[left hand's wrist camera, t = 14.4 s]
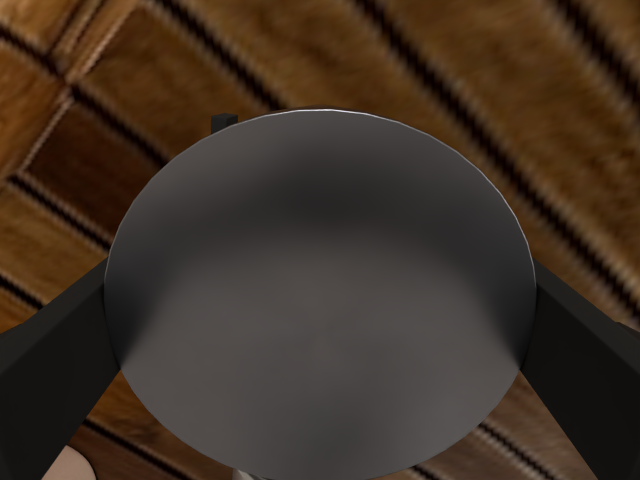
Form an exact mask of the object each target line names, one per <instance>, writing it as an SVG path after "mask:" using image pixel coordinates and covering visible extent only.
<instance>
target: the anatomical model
mask: <svg viewBox="0 0 640 480" xmlns="http://www.w3.org/2000/svg"><path fill="white" fill-rule="evenodd" d="M42 480H96V477H95V474H94V472H93V469H92V468H91V466H90V464H89V462H88V461H87V460H86V459H85V458H84V457H83V456H82V455H81V454H80V453H79V452H77V451H76V450H74V449H73V448H71V447H69V446H67V445H66V446H65V447H64V449H63V450H62V452H61V453H60V454H59V456H58V457H57V459H56V460H55V461H54V463H53V464H52V466H51V467H50V468H49V470H48V471H47V473H46V474H45V475H44V477H43V478H42Z"/></svg>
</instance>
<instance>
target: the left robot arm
mask: <svg viewBox="0 0 640 480" xmlns="http://www.w3.org/2000/svg"><path fill="white" fill-rule="evenodd" d="M108 258H109V256H108V257H107V258H106V259H105V260H103V261H102V262H101V263H99V264H98V265H97V266H96V267H94V268H93V269H92V270H90V271H89V272H88V273H87V274H85V275H84V276H83V277H82V278H80V279H79V280H78V281H76V282H75V283H74V284H73V285H71V286H70V287H69V288H68V289H66V290H65V291H64V292H62V293H61V294H60V295H59V296H57V297H56V298H55V299H53V300H52V301H51V302H50V303H48V304H47V305H46V306H45V307H43V308H42V309H41V310H39V311H38V312H37V313H36V314H34V315H33V316H32V317H31V318H29V319H28V320H27V321H25V322H24V323H23V324H19V325H17V326H15V327H13V328H11V329H9V330H7V331H5V332H3V333H1V334H0V480H42V478H43V477H44V475H45V474H46V473H47V471H48V470H49V468H50V467H51V466H52V464H53V463H54V461H55V460H56V459H57V457H58V456H59V454H60V453H61V452H62V450H63V449H64V447H65V446H66V445H67V443H68V442H69V440H70V439H71V438H72V436H73V435H74V433H75V432H76V431H77V429H78V428H79V427H80V425H81V424H82V422H83V421H84V420H85V418H86V417H87V415H88V414H89V413H90V411H91V410H92V408H93V407H94V406H95V404H96V403H97V401H98V400H99V399H100V397H101V396H102V394H103V393H104V392H105V390H106V389H107V387H108V386H109V385H110V383H111V382H112V380H113V379H114V378H115V376H116V375H117V373H118V372H119V371H120V367H119V364H118V362H117V359H116V357H115V355H114V352H113V350H112V346H111V343H110V338H109V334H108V330H107V326H106V320H105V310H104V283H105V272H106V268H107V263H108ZM532 261H533V264H534V270H535V280H536V289H537V300H536V317H535V321H534V326H533V331H532V335H531V340H530V344H529V347H528V350H527V353H526V356H525V359H524V361H523V364H522V366H521V368H520V371H521V372H522V374H523V375H524V377H525V378H526V379H527V381H528V382H529V383H530V385H531V386H532V388H533V389H534V390H535V392H536V393H537V395H538V396H539V397H540V399H541V400H542V402H543V403H544V404H545V406H546V407H547V409H548V410H549V411H550V413H551V414H552V416H553V417H554V418H555V420H556V421H557V423H558V424H559V425H560V427H561V428H562V430H563V431H564V432H565V434H566V435H567V437H568V438H569V439H570V441H571V442H572V444H573V445H574V446H575V448H576V449H577V451H578V452H579V453H580V455H581V456H582V458H583V459H584V460H585V462H586V463H587V465H588V466H589V467H590V469H591V470H592V472H593V473H594V474H595V476H596V477H597V479H598V480H640V332H638V331H636V330H634V329H632V328H630V327H628V326H626V325H624V324H622V323H620V322H614V321H613V320H612V319H611V318H609V317H608V316H607V315H605V314H604V313H603V312H602V311H600V310H599V309H598V308H596V307H595V306H594V305H593V304H591V303H590V302H589V301H588V300H586V299H585V298H584V297H582V296H581V295H580V294H579V293H577V292H576V291H575V290H574V289H572V288H571V287H570V286H568V285H567V284H566V283H565V282H563V281H562V280H561V279H559V278H558V277H557V276H556V275H554V274H553V273H552V272H551V271H549V270H548V269H547V268H545V267H544V266H543V265H542V264H540V263H539V262H538V261H537V260H535V259H534V258H533V257H532Z"/></svg>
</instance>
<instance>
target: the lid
mask: <svg viewBox="0 0 640 480" xmlns="http://www.w3.org/2000/svg"><path fill="white" fill-rule="evenodd" d="M536 300H537V289H536V280H535V270H534V264H533V261H532V257H531V253H530V249H529V246H528V242H527V239H526V237H525V235H524V233H523V230H522V228H521V226H520V224H519V221H518V219H517V217H516V215H515V214H514V212H513V211H512V209H511V207H510V206H509V204H508V203H507V201H506V200H505V198H504V197H503V195H502V194H501V192H500V191H499V190H498V189H497V188H496V187H495V185H494V184H493V183H492V182H491V181H490V180H489V179H488V178H487V177H486V175H485V174H484V173H483V172H482V171H481V170H480V169H479V168H478V167H476V166H475V165H474V164H473V163H471V162H470V161H469V160H468V159H467V158H465V157H464V156H463V155H462V154H460V153H459V152H458V151H457V150H455V149H453V148H452V147H450V146H448V145H447V144H445V143H443V142H442V141H440V140H438V139H437V138H435V137H433V136H432V135H430V134H428V133H426V132H423V131H421V130H418V129H416V128H414V127H411V126H409V125H406V124H404V123H402V122H399V121H397V120H394V119H392V118H389V117H386V116H382V115H378V114H374V113H370V112H367V111H363V110H358V109H350V108H341V107H332V106H319V107H297V108H291V109H285V110H279V111H272V112H269V113H265V114H262V115H259V116H256V117H253V118H249V119H246V120H243V121H240V122H238V123H235V124H232V125H230V126H228V127H226V128H224V129H222V130H220V131H217V132H215V133H213V134H211V135H209V136H207V137H205V138H203V139H201V140H199V141H198V142H196V143H195V144H193V145H192V146H190V147H189V148H187V149H186V150H184V151H183V152H181V153H180V154H178V155H177V156H175V157H174V158H173V159H172V160H171V161H170V162H169V163H168V164H167V165H165V166H164V167H163V168H162V169H161V170H160V171H159V172H158V173H157V174H156V175H154V176H153V177H152V178H151V180H150V181H149V182H148V183H147V185H146V186H145V187H144V188H143V190H142V191H141V192H140V193H139V195H138V196H137V197H136V198H135V199H134V201H133V203H132V204H131V206H130V208H129V210H128V211H127V213H126V215H125V217H124V218H123V220H122V222H121V223H120V226H119V228H118V231H117V234H116V236H115V239H114V241H113V244H112V247H111V249H110V254H109V258H108V263H107V268H106V272H105V283H104V310H105V320H106V326H107V330H108V334H109V338H110V343H111V346H112V350H113V352H114V355H115V357H116V359H117V362H118V364H119V367H120V369H121V371H122V373H123V375H124V376H125V378H126V380H127V382H128V383H129V385H130V387H131V388H132V390H133V392H134V393H135V394H136V396H137V397H138V398H139V399H140V401H141V402H142V403H143V405H144V406H145V407H146V409H147V410H148V411H149V412H150V413H151V414H152V415H153V416H154V417H155V418H156V419H157V420H158V421H159V422H160V423H161V424H162V425H163V426H164V427H165V428H167V429H168V430H169V431H170V432H171V433H173V434H174V435H175V436H176V437H178V438H179V439H180V440H181V441H183V442H184V443H186V444H188V445H189V446H191V447H192V448H194V449H195V450H197V451H198V452H200V453H202V454H204V455H206V456H208V457H210V458H212V459H214V460H216V461H218V462H220V463H222V464H224V465H227V466H229V467H232V468H234V469H237V470H240V471H242V472H245V473H249V474H253V475H256V476H260V477H264V478H268V479H274V480H367V479H372V478H377V477H382V476H385V475H388V474H391V473H395V472H398V471H401V470H404V469H407V468H409V467H411V466H414V465H416V464H419V463H421V462H423V461H426V460H427V459H429V458H431V457H433V456H435V455H437V454H438V453H440V452H442V451H444V450H446V449H447V448H449V447H450V446H452V445H453V444H454V443H456V442H457V441H459V440H460V439H462V438H463V437H465V436H466V435H467V434H468V433H469V432H470V431H472V430H473V429H474V428H475V427H476V426H477V425H478V424H480V423H481V422H482V421H483V420H484V419H485V418H486V417H487V415H488V414H489V413H490V412H491V411H492V410H493V409H494V408H495V407H496V406H497V404H498V403H499V402H500V400H501V399H502V398H503V396H504V395H505V393H506V392H507V390H508V389H509V388H510V386H511V385H512V383H513V381H514V379H515V377H516V375H517V373H518V372H519V370H520V368H521V366H522V364H523V361H524V359H525V356H526V353H527V350H528V347H529V344H530V340H531V335H532V331H533V326H534V321H535V317H536Z"/></svg>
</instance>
